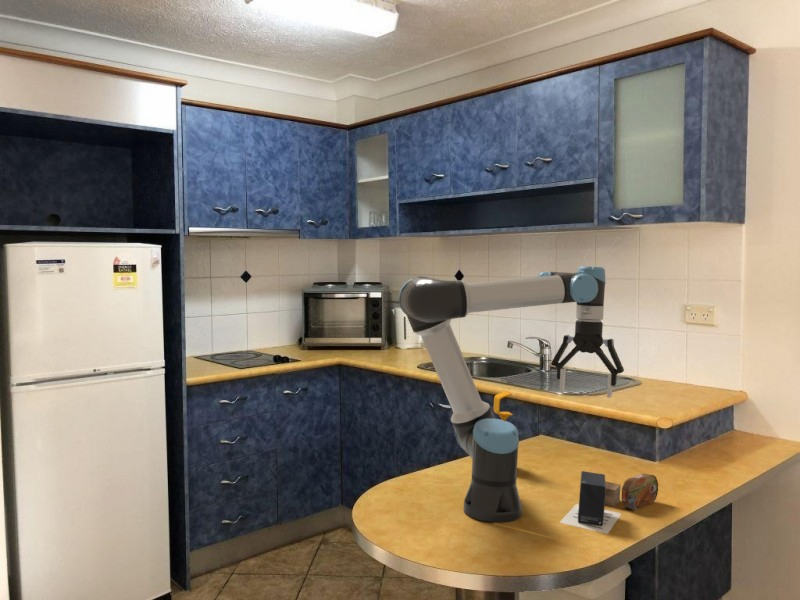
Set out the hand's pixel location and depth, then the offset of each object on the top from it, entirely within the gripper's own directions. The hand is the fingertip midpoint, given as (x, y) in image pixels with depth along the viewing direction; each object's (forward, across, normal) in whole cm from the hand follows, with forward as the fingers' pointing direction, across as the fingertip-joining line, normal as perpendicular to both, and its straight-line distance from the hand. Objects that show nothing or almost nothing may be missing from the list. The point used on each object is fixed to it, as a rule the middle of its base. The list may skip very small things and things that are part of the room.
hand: (585, 393), depth 191 cm
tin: (+29, +17, -2) cm, 34 cm away
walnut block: (+29, +8, -4) cm, 30 cm away
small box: (+29, +8, -19) cm, 35 cm away
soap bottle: (+29, -27, +7) cm, 40 cm away
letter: (+29, +8, -19) cm, 35 cm away
